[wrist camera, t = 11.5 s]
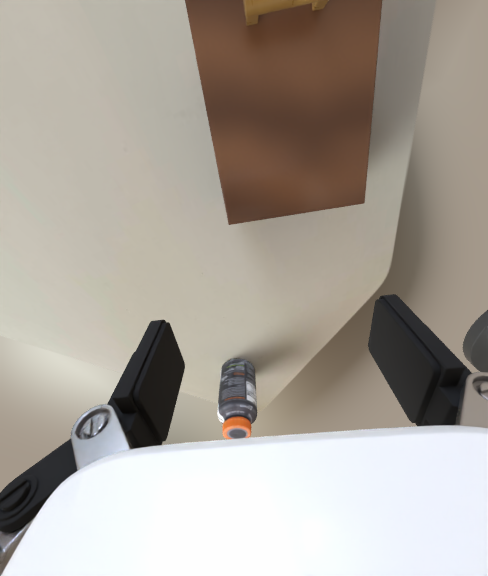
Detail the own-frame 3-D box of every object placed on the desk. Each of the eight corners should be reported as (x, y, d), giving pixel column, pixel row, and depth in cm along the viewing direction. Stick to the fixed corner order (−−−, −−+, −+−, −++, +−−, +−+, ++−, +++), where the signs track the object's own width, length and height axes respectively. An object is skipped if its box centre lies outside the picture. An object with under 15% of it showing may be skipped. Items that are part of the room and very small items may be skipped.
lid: (184, -11, 15) (163, -61, 11) (382, -59, 14) (434, -131, 10) (229, 222, 22) (226, 240, 19) (361, 201, 22) (386, 215, 18)
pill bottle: (217, 376, 45) (210, 442, 35) (225, 354, 42) (220, 419, 32) (249, 382, 46) (250, 448, 36) (259, 361, 43) (264, 426, 33)
